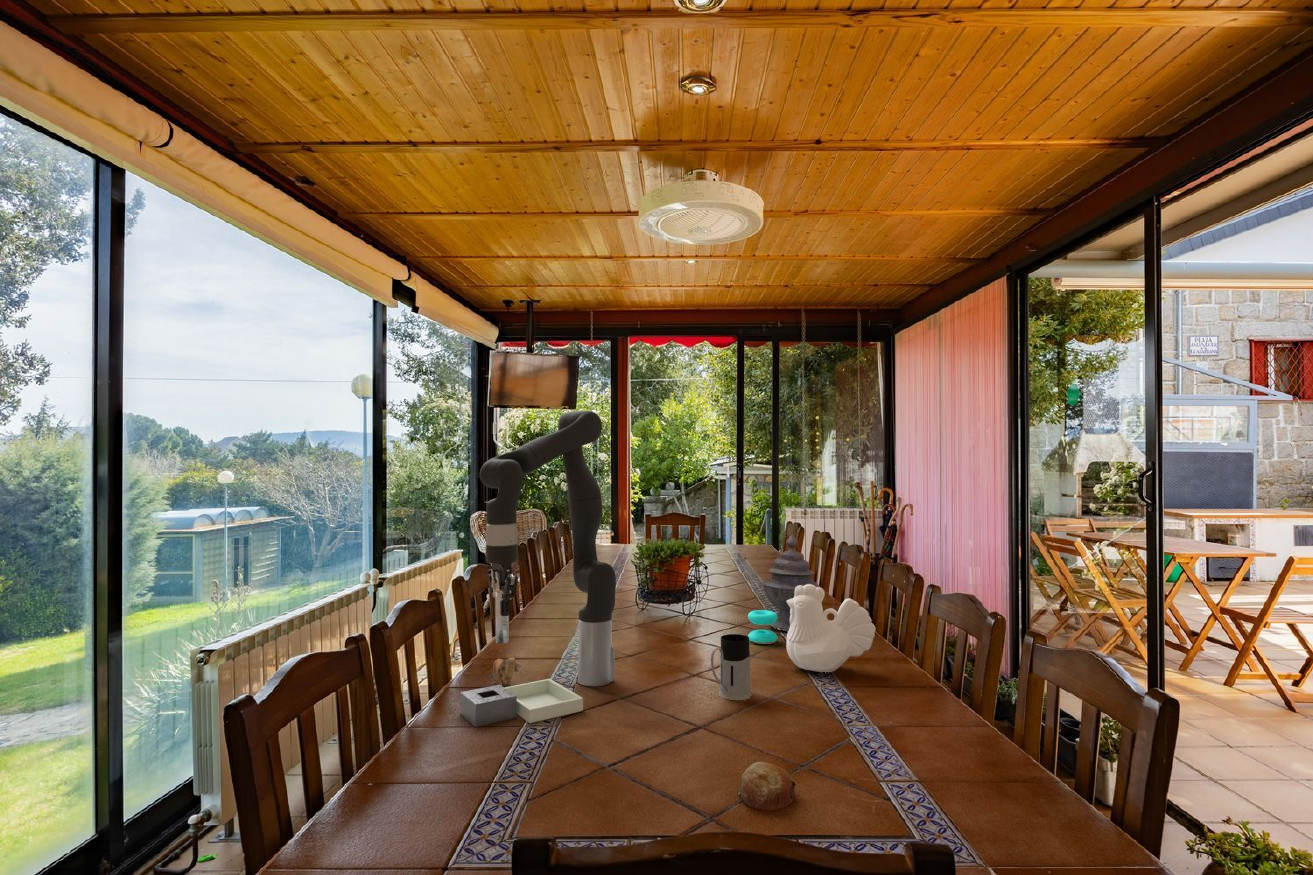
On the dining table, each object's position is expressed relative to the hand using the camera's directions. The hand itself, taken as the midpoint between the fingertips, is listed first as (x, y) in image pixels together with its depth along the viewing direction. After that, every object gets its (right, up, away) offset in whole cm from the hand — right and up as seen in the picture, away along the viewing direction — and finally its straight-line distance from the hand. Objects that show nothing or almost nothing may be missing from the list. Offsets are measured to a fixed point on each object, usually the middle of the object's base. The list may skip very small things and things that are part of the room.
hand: (502, 613), depth 168 cm
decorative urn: (+86, -28, +88) cm, 126 cm away
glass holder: (+56, -25, +13) cm, 63 cm away
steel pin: (0, -7, 0) cm, 7 cm away
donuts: (+73, -27, +68) cm, 104 cm away
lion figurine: (-4, -25, +21) cm, 33 cm away
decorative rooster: (+88, -26, +36) cm, 98 cm away
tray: (+8, -25, +4) cm, 26 cm away
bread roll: (+57, -24, -40) cm, 74 cm away
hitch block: (-3, -24, -2) cm, 25 cm away
